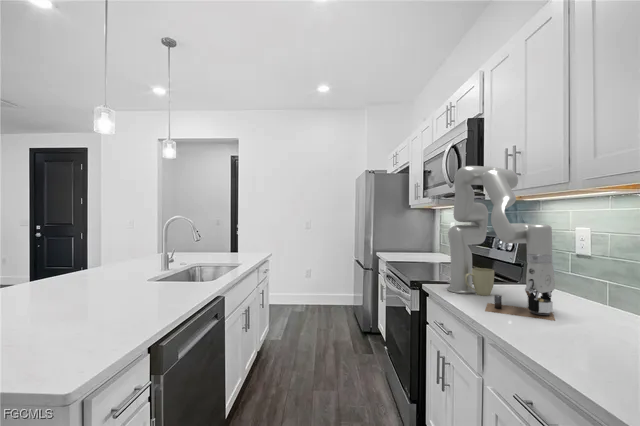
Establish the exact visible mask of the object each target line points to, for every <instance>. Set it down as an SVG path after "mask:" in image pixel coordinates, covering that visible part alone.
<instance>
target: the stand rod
mask: <svg viewBox="0 0 640 426" xmlns="http://www.w3.org/2000/svg"><path fill="white" fill-rule="evenodd" d="M493 296H494V297H493V299H494V301H493V302H494V303H493V304H494V308H495V309H502V305H503V300H502V299H503V298H502V295H501V294H494V295H493Z"/></svg>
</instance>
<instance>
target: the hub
mask: <svg viewBox="0 0 640 426" xmlns="http://www.w3.org/2000/svg"><path fill="white" fill-rule="evenodd" d="M538 300H539V301H542V302H544V300H543V299H542V298H541V297H538ZM530 313H531V314H534V315H538V316H549V313H540V312H535V311H531V310H530Z"/></svg>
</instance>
